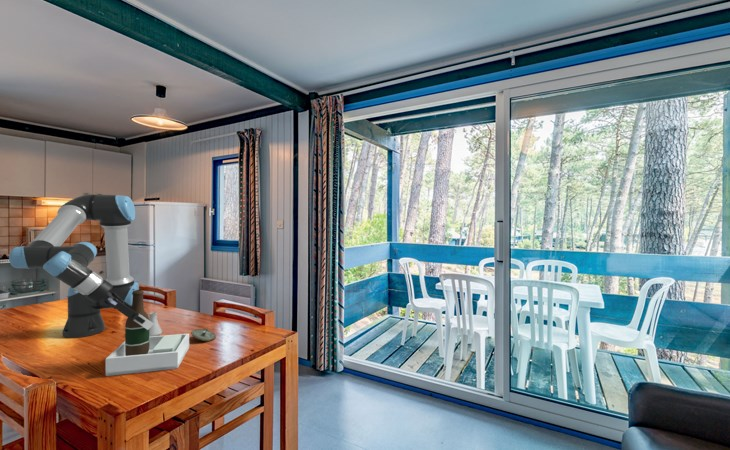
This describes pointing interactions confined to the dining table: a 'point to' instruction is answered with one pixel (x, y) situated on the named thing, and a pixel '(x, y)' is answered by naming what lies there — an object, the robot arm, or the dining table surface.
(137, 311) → the beer bottle
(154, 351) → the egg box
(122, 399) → the dining table surface
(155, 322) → the flask
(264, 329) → the dining table surface
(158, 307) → the dining table surface
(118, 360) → the tray
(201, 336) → the lid
